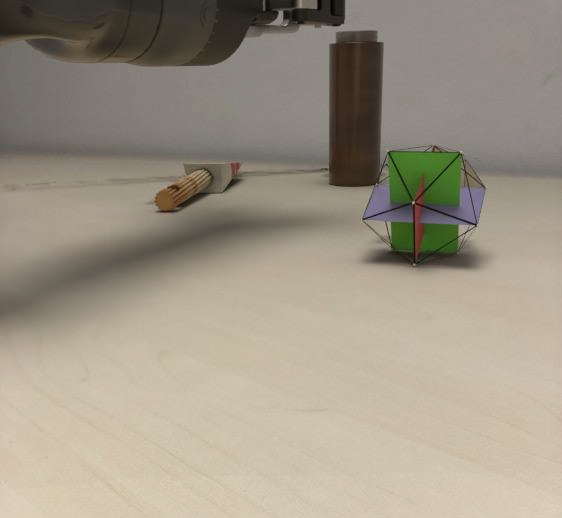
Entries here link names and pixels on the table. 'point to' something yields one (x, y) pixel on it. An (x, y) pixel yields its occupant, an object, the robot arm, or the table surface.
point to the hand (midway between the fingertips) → (291, 13)
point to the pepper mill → (355, 108)
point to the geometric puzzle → (427, 200)
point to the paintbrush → (197, 182)
